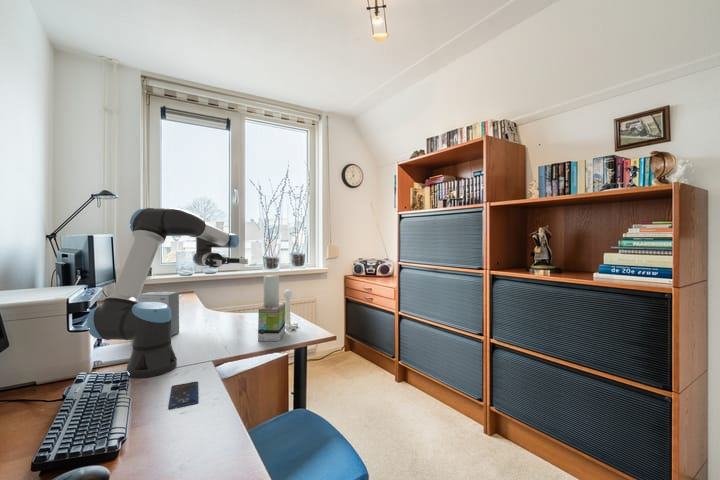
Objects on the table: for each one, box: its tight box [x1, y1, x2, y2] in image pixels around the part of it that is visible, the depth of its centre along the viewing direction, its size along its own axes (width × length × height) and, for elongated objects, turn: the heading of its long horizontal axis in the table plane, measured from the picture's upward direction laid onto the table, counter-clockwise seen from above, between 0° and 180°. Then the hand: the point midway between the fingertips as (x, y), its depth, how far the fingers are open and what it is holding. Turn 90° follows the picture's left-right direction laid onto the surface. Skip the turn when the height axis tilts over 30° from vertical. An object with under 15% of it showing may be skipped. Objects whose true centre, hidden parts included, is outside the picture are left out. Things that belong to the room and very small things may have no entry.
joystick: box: [283, 289, 299, 331], centre depth 169 cm, size 11×8×20 cm
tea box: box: [257, 302, 286, 342], centre depth 155 cm, size 15×10×15 cm, turn 3°
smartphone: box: [167, 381, 200, 410], centre depth 98 cm, size 8×1×15 cm
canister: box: [263, 274, 280, 307], centre depth 155 cm, size 7×7×14 cm
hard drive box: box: [138, 291, 180, 337], centre depth 155 cm, size 16×8×20 cm, turn 84°
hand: (234, 262), depth 156 cm, fingers open, 13 cm apart
